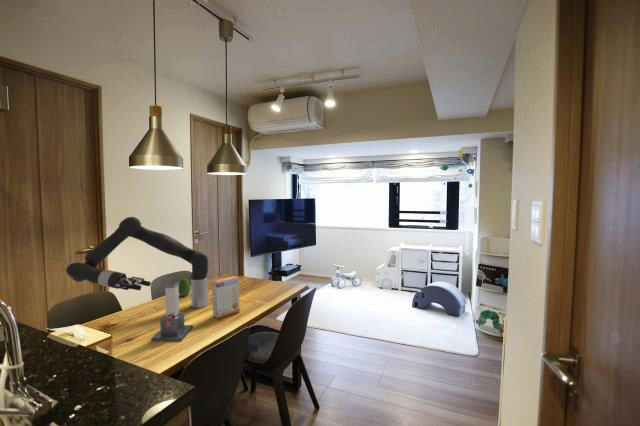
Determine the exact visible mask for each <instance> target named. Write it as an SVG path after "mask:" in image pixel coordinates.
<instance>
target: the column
mask: <svg viewBox="0 0 640 426" xmlns="http://www.w3.org/2000/svg"><path fill="white" fill-rule="evenodd" d="M179 283H180V280H178V281H177V280H173V281H170V280H169V281H168V282H167V283H165V284H163V285H164V286H163V288H164V291H165V292H164V293H165V295H164V296H165V314H166V316H168V315H173V317H177V316H178V315H179V312H180V306H179V305H180V298H179V297H180V294H179V289H178V286H179Z"/></svg>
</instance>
